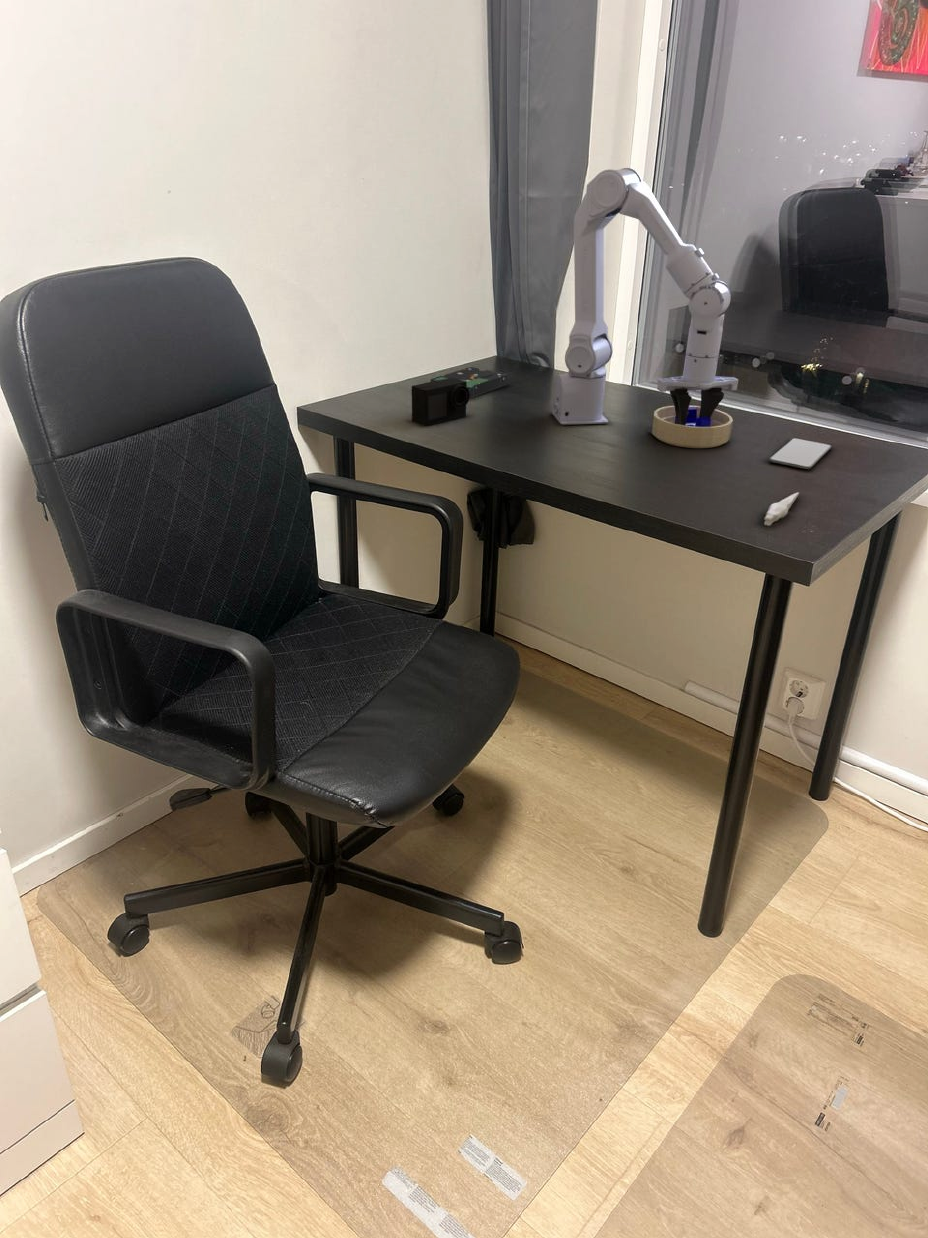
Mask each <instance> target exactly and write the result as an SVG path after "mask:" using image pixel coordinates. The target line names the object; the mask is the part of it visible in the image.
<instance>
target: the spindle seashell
mask: <svg viewBox="0 0 928 1238" xmlns="http://www.w3.org/2000/svg"><path fill="white" fill-rule="evenodd" d="M799 495H800V492H799V491H798V492H795V493H792V494H791V495H789V496H787V497H785V498H784V499H781V500H780V501H778V502H773V503H771V504H770V506H768V510H767V512H765V516H764V520H765V521H764V522H763V524H764V526H768V527H771V525H772V524H773V523H775V522H777V521H779V520H782V519H783V518H785V517H786V515H788V513H789V509H790V508H791V507H792V505H793V503H795V501H796V499H797V498H798V496H799Z"/></svg>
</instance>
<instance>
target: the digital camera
mask: <svg viewBox="0 0 928 1238" xmlns="http://www.w3.org/2000/svg"><path fill="white" fill-rule="evenodd" d="M469 397H470V393H469V390H468V388H467V382H466V381H462V380H459V379H456V378H448V379H443V380H438V381H433V382H431V381H429V382H423V383H419V384H414V385H411V421H412V422H414V423H416V424H418V425H422V426H424V427H428V426H432V425H438V424H441V423H445V422H448V421H449V422H450V421H453V420H457V419H458V420H459V419H461V418H465V417H467V405H468V403H469V401H470V398H469Z"/></svg>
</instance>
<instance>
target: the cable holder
mask: <svg viewBox="0 0 928 1238" xmlns="http://www.w3.org/2000/svg"><path fill="white" fill-rule="evenodd" d="M674 423H675V424H677V419H676V415H675V422H674ZM710 424H711V419H710V418H709V417H698V418H697V409H696V408H695V407H689V408H688V412H687V418H686V426H695V427H710Z"/></svg>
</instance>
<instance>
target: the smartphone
mask: <svg viewBox="0 0 928 1238" xmlns="http://www.w3.org/2000/svg"><path fill="white" fill-rule="evenodd" d="M831 448H832V444H829V443H823V442H819V441H813V440H809V439H803V438H798V437H792V439H791V440H789V441H788V442H786V444H784V445H783V446H782V447H781V448H780V449H779V450H777V452H775V453H774V454H773V455H772V456H771V457H769V461H770V462H771V463H774V464H779V465H784V466H790V467H792V468H793V467H794V468H799V469H802V470H803V469H804V470H810V469H811V468H812V467H813V466H814V465H816V463H817V462H818V461H819V460H820V459H821V458H822V457H823V456H825V454H826V453H827V452H829V450H831Z"/></svg>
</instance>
